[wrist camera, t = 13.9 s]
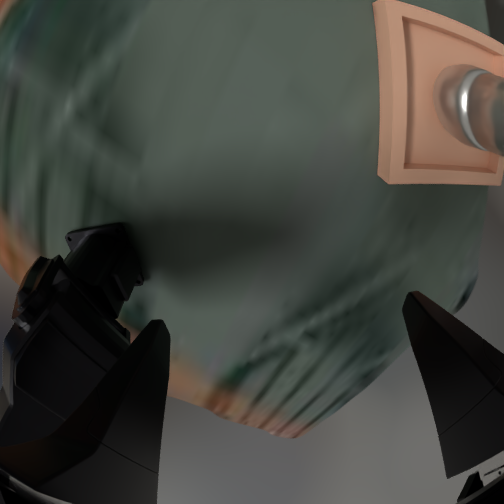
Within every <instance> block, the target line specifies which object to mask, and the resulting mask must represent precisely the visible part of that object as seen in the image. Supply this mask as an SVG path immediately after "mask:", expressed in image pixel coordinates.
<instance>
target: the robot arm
mask: <svg viewBox="0 0 504 504" xmlns="http://www.w3.org/2000/svg"><path fill="white" fill-rule="evenodd" d="M117 228H118V229H120V231H118V230H117ZM70 237H71V238H70ZM65 239H66V241H67V243H68V246H69V248H70V250H71V251H70V253H69V254H68V255H67V257H66V258H65V259H64V261H63V258H62V257H61V256H60V255H57V256H56V257H54V258H53V259H49V258H48V259H47V258H44V257H42V256H40V257H39V258H38V259H37V260H36V261H35V262H34V263H33V265H32V266H31V267H30V269H29V270H28V271H27V273H26V274H25V276H24V278H23V280H22V283H21V285H20V287H19V290H18V292H17V295H16V299H15V303H14V308H13V312H12V318H11V319H12V320H13V321H14V324H13V325H12V327H11V329H10V330H9V332H8V333H7V335H6V336H5V338H4V342H3V386H2V388H1V390H0V504H157V489H158V472H159V459H160V449H161V439H162V428H163V420H164V412H165V404H166V396H167V389H168V381H169V367H170V334H169V331H168V329H167V327H166V325H165V323H164V321H163V320H161V319H157V320H151V321H150V322H149V323H148V325H147V326H146V327H145V328H144V329H143V330H142V332H141V333H140V334H139V335H138V336H137V337H136V339H135V340H134V341H133V342H132V343H131V344H130V332H129V331H128V330H127V329H126V328H124V327H123V326H122V325H121V324H120V323H119V322H118V321H117V320H116V319H117V318H118V316H119V313H120V311H121V308H122V306H123V303H124V301H128V300H129V298H130V295H131V293H132V290H133V288H134V286H141V285H143V282H144V278H143V275H142V273H141V267H140V265H139V262H138V259H137V257H136V254H135V252H134V249H133V247H132V246H131V245H130V242H129V239H128V236H127V234H126V231H125V228H124V226H123V225H122V224H120V223H117V224H111V225H105V226H99V227H94V228H88V229H83V230H77V231H72V232H68V233H67V235H66V236H65ZM138 280H140V281H138ZM402 312H403V316H404V320H405V324H406V327H407V331H408V335H409V339H410V343H411V346H412V349H413V352H414V355H415V358H416V360H417V363H418V367H419V370H420V372H421V376H422V379H423V382H424V385H425V388H426V391H427V395H428V398H429V402H430V405H431V409H432V412H433V416H434V420H435V424H436V428H437V432H438V435H439V436H438V437H439V441H440V446H441V451H442V456H443V461H444V465H445V471H446V477H447V479H448V478H451V477H453V476H455V475H458V474H460V473H462V472H464V471H466V470H469V469H471V468H473V467H474V466H477V467H478V471H476V472H475V473H473V474H471V475H470V476H469V477H468V479H467V481H466V483H465V485H464V487H463V490H462V491H461V493H460V495H459V497H458V499H457V502H458V503H457V504H504V354H503V353H502V352H500V351H499V350H497V349H496V348H494V347H493V346H492V345H491V344H490V343H488V342H487V341H486V340H484V339H482V337H481V336H479V335H478V334H477V333H475V332H474V331H473V330H471V329H470V328H469V327H468V326H466V325H465V324H464V323H462V322H461V321H460V320H458V319H457V318H455V317H454V316H453V315H451V314H450V313H449V312H447V311H446V310H445V309H443V308H442V307H440V306H439V305H438V304H436V303H435V302H433V301H432V300H431V299H429V298H428V297H426V296H425V295H423V294H422V293H421V292H419V291H412V292H409V293H408V294H407V296H406V299H405V302H404V305H403V308H402Z"/></svg>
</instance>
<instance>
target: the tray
mask: <svg viewBox="0 0 504 504" xmlns="http://www.w3.org/2000/svg"><path fill="white" fill-rule="evenodd" d="M372 6H373V13H374V20H375V28H376V38H377V49H378V63H379V85H380V134H379V157H378V172H377V175H378V176H379V177H380V178H382V179H383V180H384V181H385V182H386V183H388V184H468V185H492V186H501V182H502V177H503V172H504V157H502V156H500V155H497V154H495V153H493V152H490V151H484V150H480V149H477V148H473V147H470V146H467V145H465V144H463V143H461V142H460V141H458V140H457V139H456V138H454V137H453V136H452V135H451V134H449V133H448V132H447V131H446V130H445V128H444V127H443V126H442V124H441V122H440V120H439V118H438V116H437V113H436V111H435V108H434V104H433V87H434V83H435V81H436V79H437V77H438V75H439V74H440V72H441V71H442V70H443V69H445V68H446V67H448V66H452V65H459V64H469V65H472V66H476V67H479V68H482V69H484V70H486V71H489V72H491V73H492V74H494V75H497V76H500V77H503V78H504V45H503V44H501V43H499V42H498V41H496V40H494V39H492V38H491V37H489V36H487V35H485V34H483V33H481V32H479V31H477V30H475V29H473V28H471V27H469V26H466V25H464V24H462V23H460V22H457V21H455V20H453V19H450V18H448V17H445V16H443V15H440V14H437V13H435V12H432V11H429V10H426V9H423V8H420V7H417V6H414V5H410V4H407V3H403V2H400V1H396V0H378V1H376V2H373V3H372Z"/></svg>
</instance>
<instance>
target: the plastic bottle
mask: <svg viewBox="0 0 504 504" xmlns="http://www.w3.org/2000/svg"><path fill="white" fill-rule="evenodd" d="M433 104H434V108H435V111H436V113H437V116H438V118H439V120H440V122H441V124H442V126H443V127H444V128H445V130H446V131H447V132H448V133H449V134H451V135H452V136H453V137H454V138H456V139H457V140H458V141H460V142H461V143H463V144H465V145H467V146H470V147H473V148H477V149H480V150H484V151H490V152H493V153H495V154H497V155H500V156H502V157H504V78H503V77H500V76H497V75H494V74H492V73H491V72H489V71H486V70H484V69H482V68H479V67H476V66H472V65H469V64H459V65H452V66H448V67H446V68H445V69H443V70H442V71H441V72H440V74H439V75H438V77H437V79H436V81H435V83H434V87H433Z"/></svg>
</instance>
